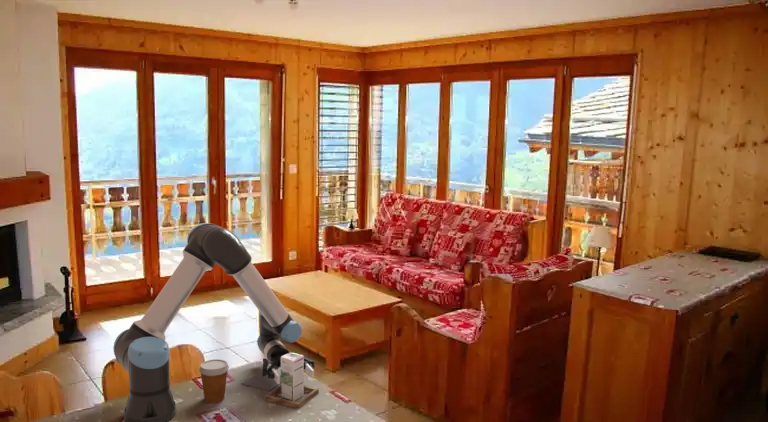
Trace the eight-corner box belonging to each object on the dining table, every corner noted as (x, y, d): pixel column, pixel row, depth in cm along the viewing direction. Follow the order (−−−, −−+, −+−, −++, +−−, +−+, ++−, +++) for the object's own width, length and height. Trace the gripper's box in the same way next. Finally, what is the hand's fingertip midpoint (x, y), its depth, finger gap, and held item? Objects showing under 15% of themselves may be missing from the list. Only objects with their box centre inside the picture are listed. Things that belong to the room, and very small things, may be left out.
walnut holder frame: (264, 400, 196) (264, 396, 196) (286, 385, 208) (286, 381, 208) (298, 408, 191) (298, 404, 191) (318, 393, 203) (318, 388, 203)
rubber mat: (241, 384, 208) (241, 383, 208) (261, 372, 219) (261, 371, 219) (269, 391, 203) (269, 389, 203) (288, 378, 214) (288, 377, 214)
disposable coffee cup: (220, 406, 191) (220, 371, 189) (193, 403, 193) (193, 368, 191) (234, 394, 200) (234, 360, 199) (208, 391, 202) (207, 357, 200)
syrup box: (304, 395, 201) (304, 354, 199) (292, 402, 196) (293, 360, 194) (291, 391, 204) (291, 351, 202) (279, 397, 199) (280, 356, 197)
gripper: (307, 359, 220) (329, 382, 201) (244, 368, 210) (260, 393, 190) (308, 339, 219) (329, 361, 200) (244, 348, 209) (260, 371, 189)
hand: (296, 377), depth 195 cm, fingers open, 11 cm apart
